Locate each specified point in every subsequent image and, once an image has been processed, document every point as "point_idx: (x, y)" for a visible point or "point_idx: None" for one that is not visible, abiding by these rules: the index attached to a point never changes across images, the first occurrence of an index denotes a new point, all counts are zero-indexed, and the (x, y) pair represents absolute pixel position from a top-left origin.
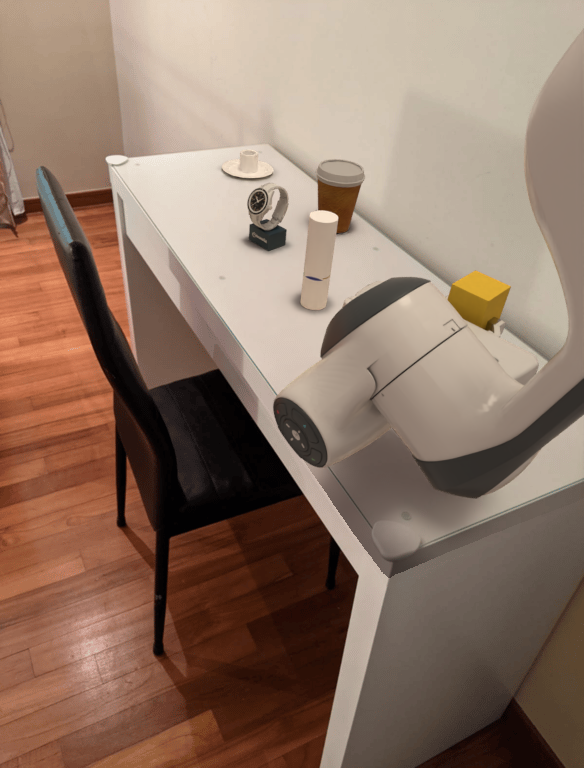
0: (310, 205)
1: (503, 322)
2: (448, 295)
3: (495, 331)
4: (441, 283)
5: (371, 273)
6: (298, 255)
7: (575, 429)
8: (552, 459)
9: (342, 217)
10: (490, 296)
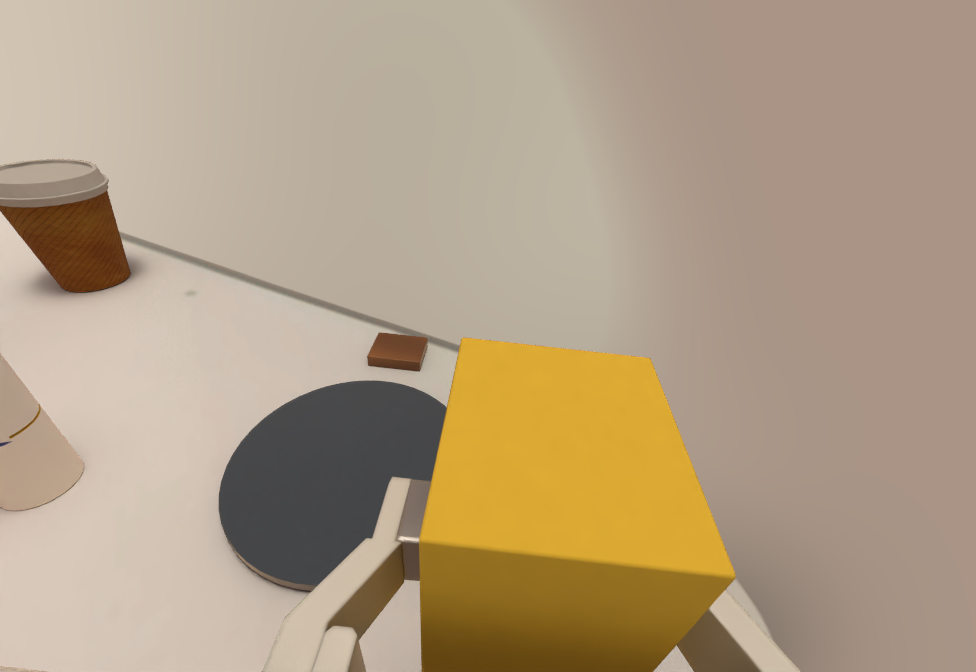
0: None
1: None
2: (390, 489)
3: (752, 650)
4: (324, 312)
5: (191, 341)
6: None
7: None
8: None
9: (98, 259)
10: (687, 506)
